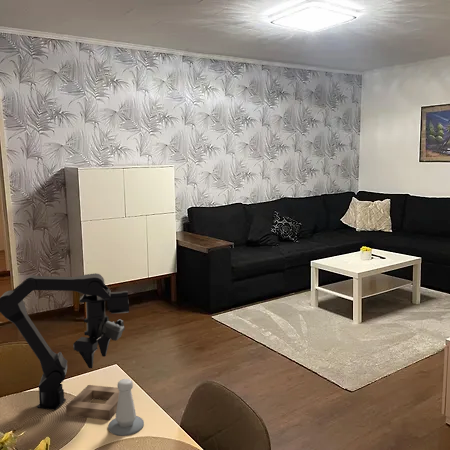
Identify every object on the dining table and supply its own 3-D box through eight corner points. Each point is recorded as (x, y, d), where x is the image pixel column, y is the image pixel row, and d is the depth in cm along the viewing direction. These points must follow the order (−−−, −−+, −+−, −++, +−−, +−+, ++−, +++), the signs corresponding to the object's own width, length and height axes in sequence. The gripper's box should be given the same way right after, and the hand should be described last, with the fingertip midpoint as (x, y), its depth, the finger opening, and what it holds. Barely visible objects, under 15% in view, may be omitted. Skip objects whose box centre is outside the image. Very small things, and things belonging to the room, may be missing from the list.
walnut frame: (66, 415, 140) (65, 405, 140) (88, 393, 154) (88, 384, 153) (109, 420, 137) (109, 410, 137) (128, 397, 151) (128, 388, 151)
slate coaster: (102, 433, 130) (102, 431, 130) (117, 415, 140) (117, 413, 140) (135, 437, 129) (135, 435, 128) (148, 418, 138) (148, 416, 138)
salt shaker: (131, 430, 131) (130, 386, 129) (112, 428, 132) (111, 384, 131) (139, 419, 137) (138, 377, 135) (120, 417, 138) (119, 375, 136)
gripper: (106, 325, 136) (108, 376, 138) (131, 307, 154) (132, 352, 156) (71, 323, 138) (73, 373, 140) (100, 305, 156) (101, 350, 158)
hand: (97, 362), depth 148 cm, fingers open, 9 cm apart
